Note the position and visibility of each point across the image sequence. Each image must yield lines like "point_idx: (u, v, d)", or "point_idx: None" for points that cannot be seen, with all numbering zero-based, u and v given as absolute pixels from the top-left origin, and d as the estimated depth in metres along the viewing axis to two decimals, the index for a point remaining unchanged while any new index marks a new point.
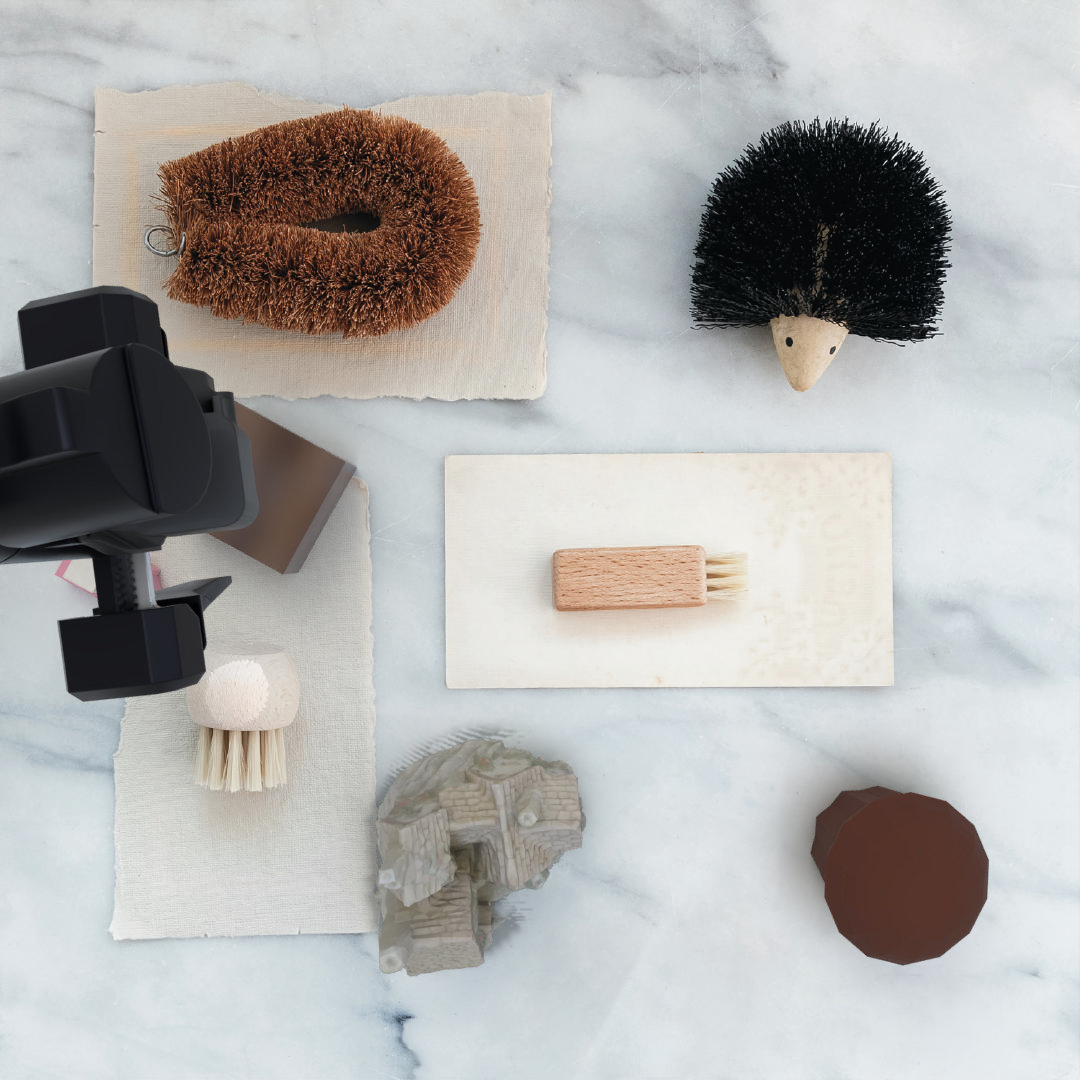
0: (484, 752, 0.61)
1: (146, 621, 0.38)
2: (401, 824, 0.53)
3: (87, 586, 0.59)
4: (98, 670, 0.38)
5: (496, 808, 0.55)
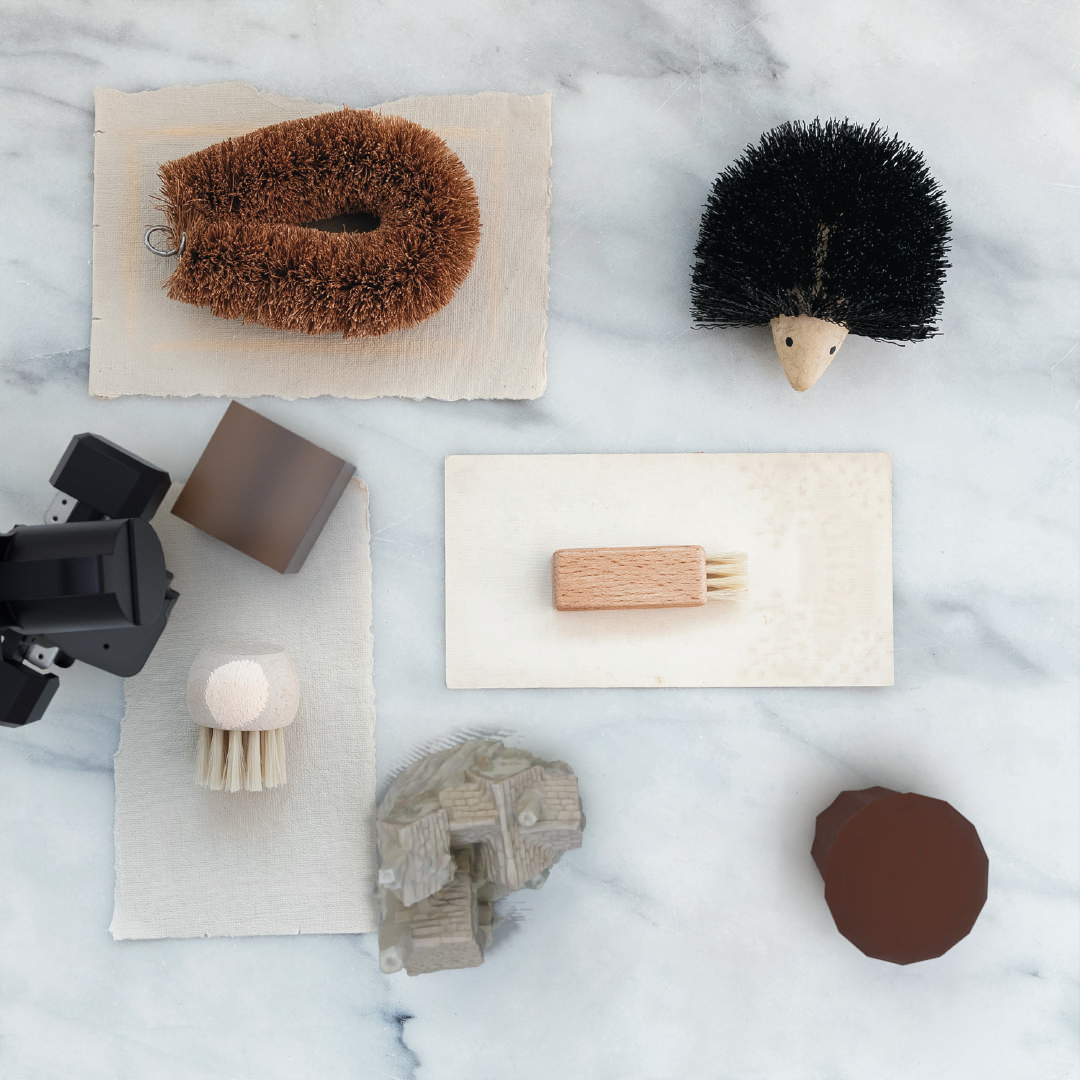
0: (484, 752, 0.61)
1: (26, 681, 0.52)
2: (401, 824, 0.53)
3: None
4: None
5: (496, 808, 0.55)
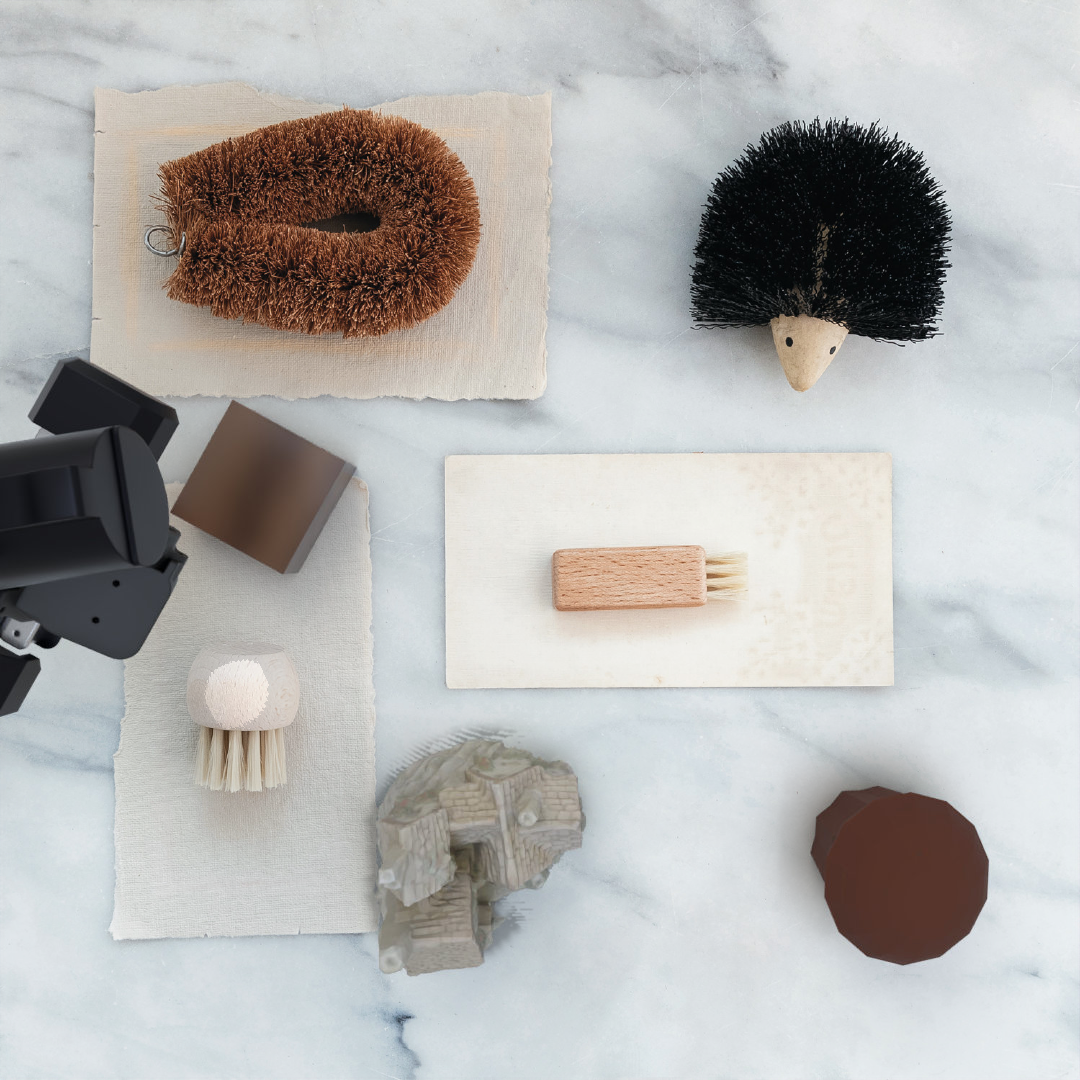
0: (484, 752, 0.61)
1: None
2: (401, 824, 0.53)
3: None
4: None
5: (496, 808, 0.55)
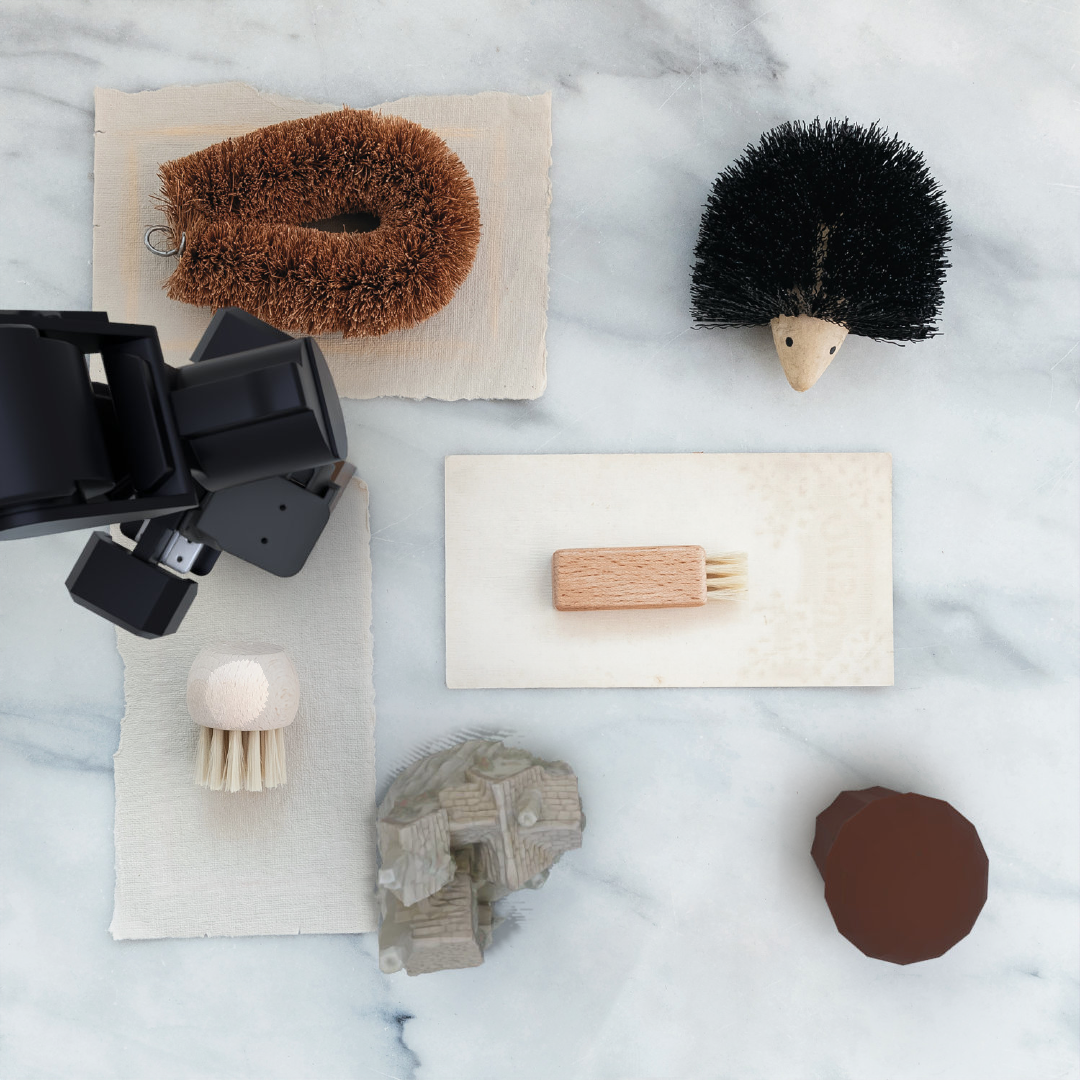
0: (484, 752, 0.61)
1: (167, 585, 0.46)
2: (401, 824, 0.53)
3: None
4: (105, 592, 0.46)
5: (496, 808, 0.55)
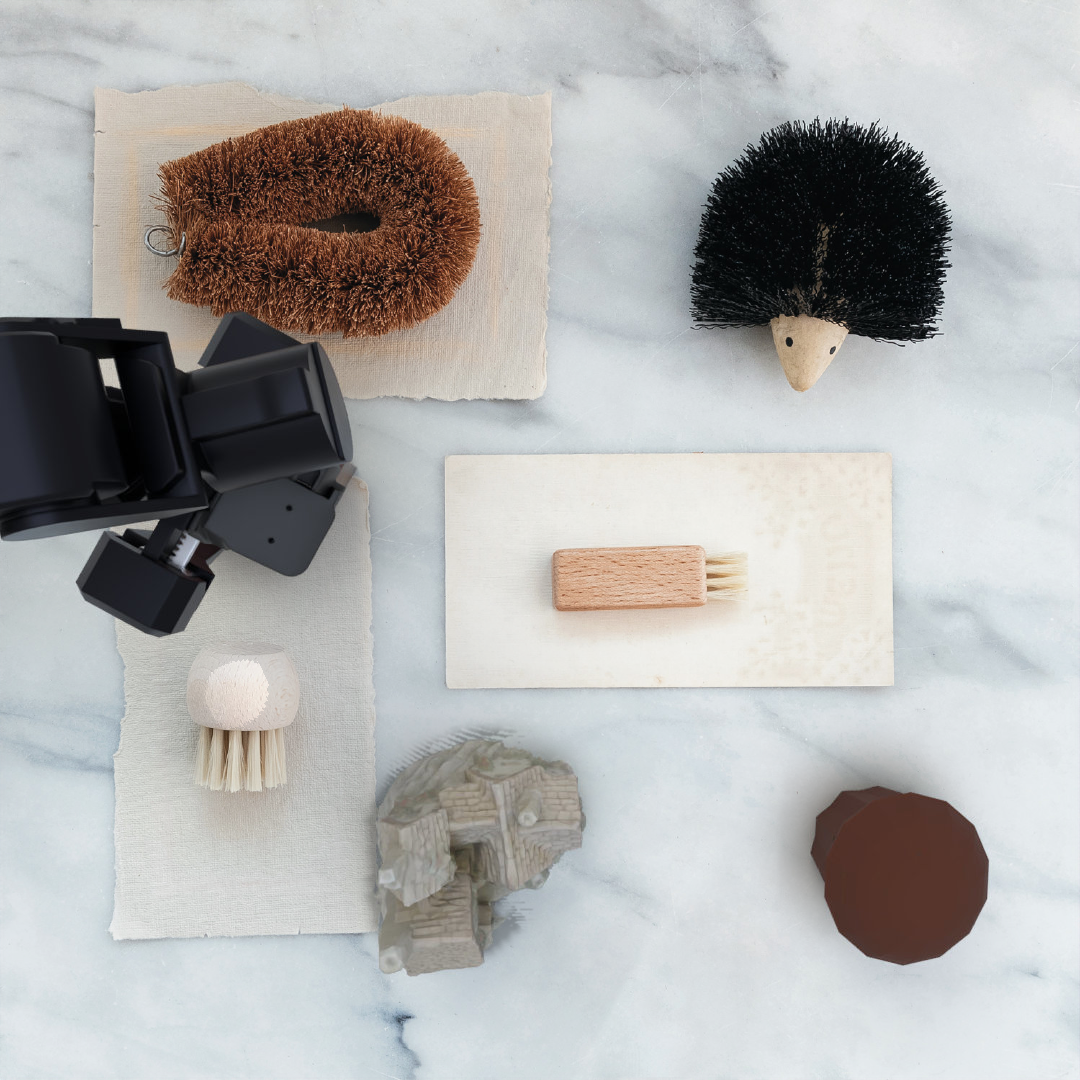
0: (484, 752, 0.61)
1: (176, 584, 0.47)
2: (401, 824, 0.53)
3: None
4: (115, 591, 0.47)
5: (496, 808, 0.55)
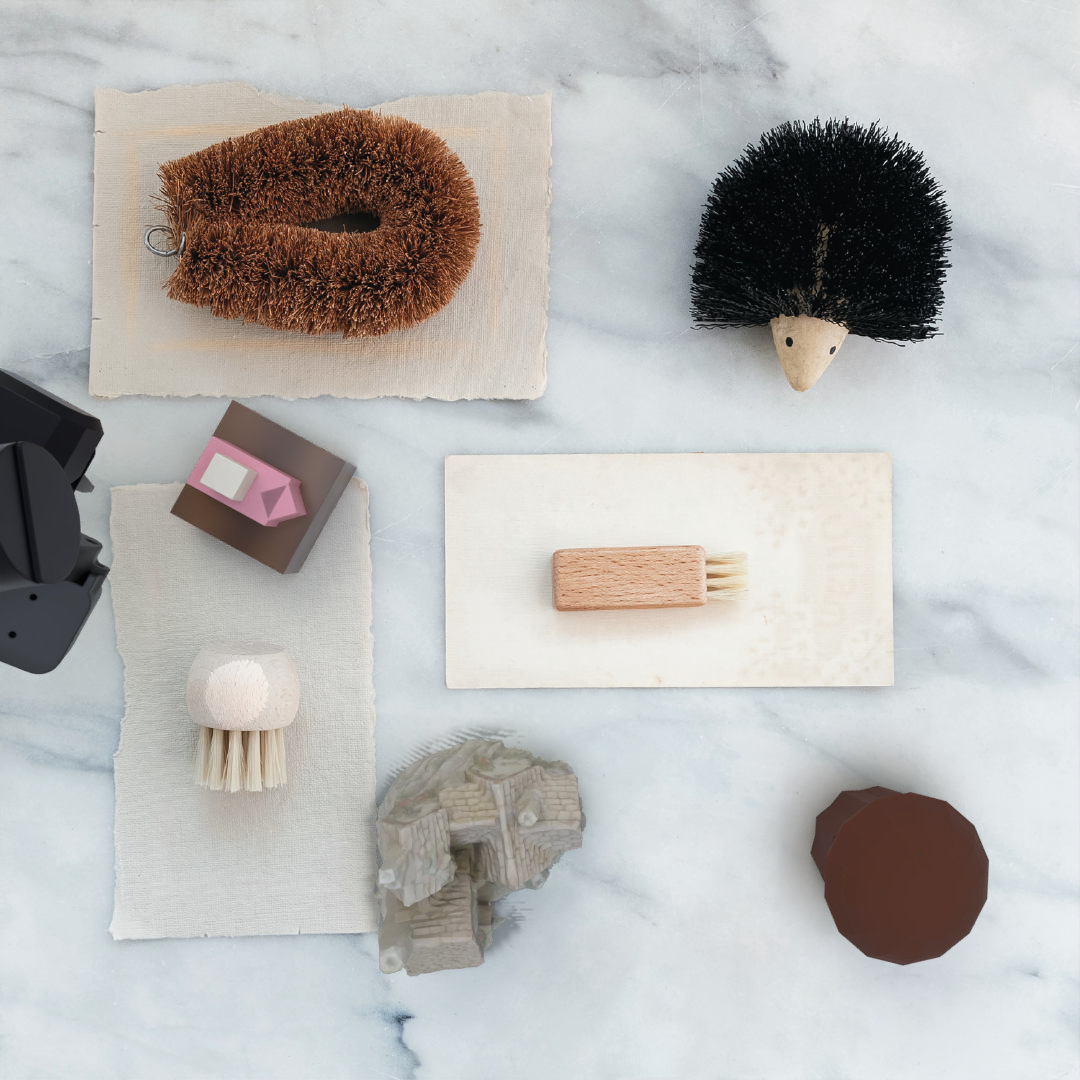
0: (484, 752, 0.61)
1: None
2: (401, 824, 0.53)
3: (226, 492, 0.54)
4: None
5: (496, 808, 0.55)
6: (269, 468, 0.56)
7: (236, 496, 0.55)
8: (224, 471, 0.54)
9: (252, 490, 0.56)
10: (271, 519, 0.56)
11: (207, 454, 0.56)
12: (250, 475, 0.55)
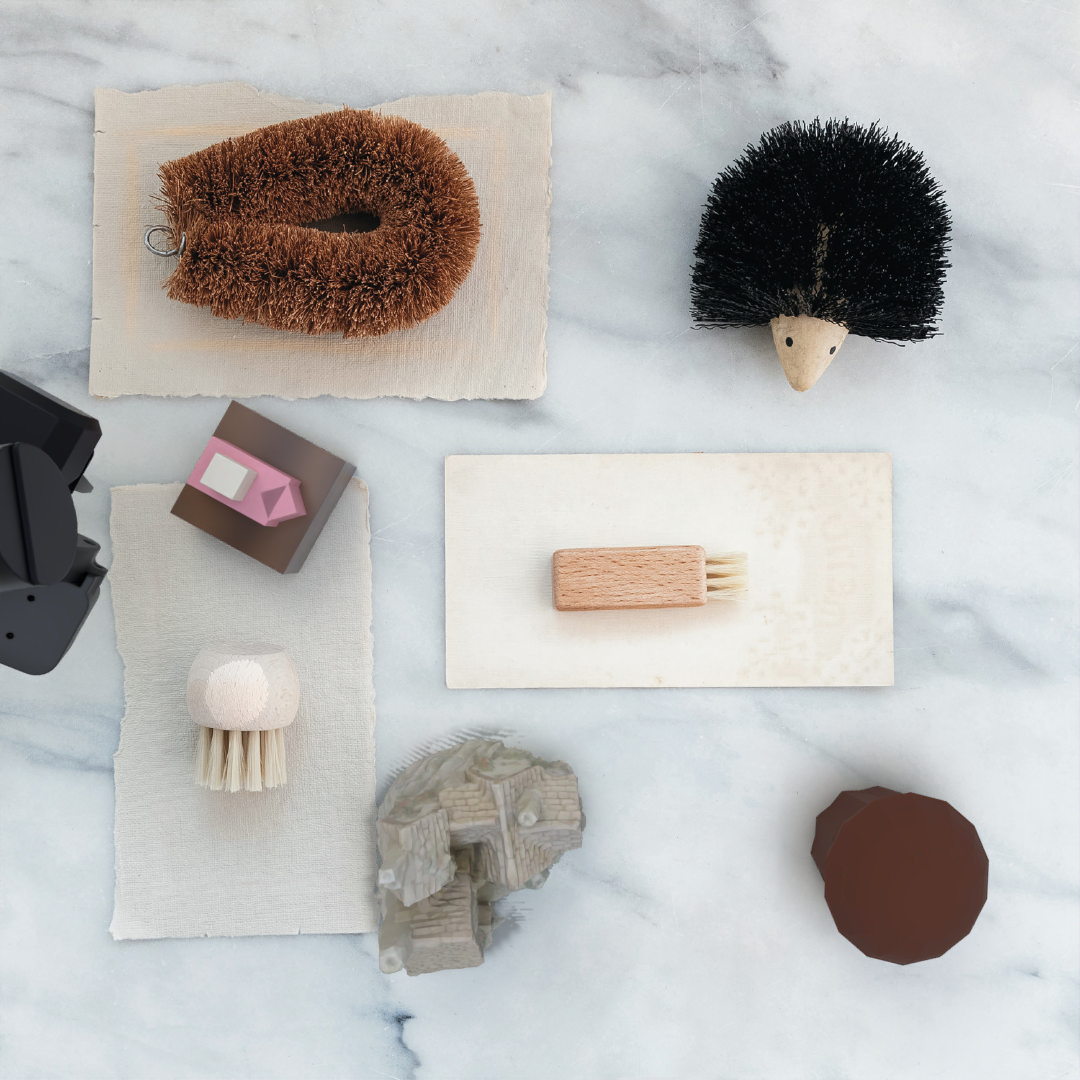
0: (484, 752, 0.61)
1: None
2: (401, 824, 0.53)
3: (226, 492, 0.54)
4: None
5: (496, 808, 0.55)
6: (269, 468, 0.56)
7: (236, 496, 0.55)
8: (224, 471, 0.54)
9: (252, 490, 0.56)
10: (271, 519, 0.56)
11: (207, 454, 0.56)
12: (250, 475, 0.55)
